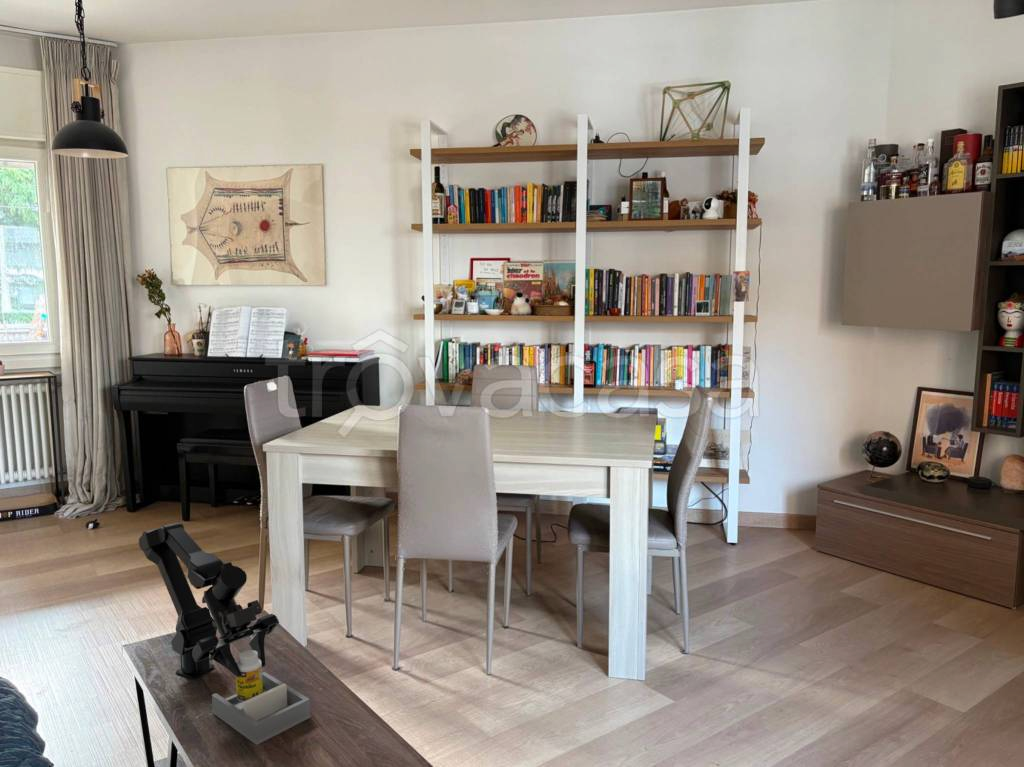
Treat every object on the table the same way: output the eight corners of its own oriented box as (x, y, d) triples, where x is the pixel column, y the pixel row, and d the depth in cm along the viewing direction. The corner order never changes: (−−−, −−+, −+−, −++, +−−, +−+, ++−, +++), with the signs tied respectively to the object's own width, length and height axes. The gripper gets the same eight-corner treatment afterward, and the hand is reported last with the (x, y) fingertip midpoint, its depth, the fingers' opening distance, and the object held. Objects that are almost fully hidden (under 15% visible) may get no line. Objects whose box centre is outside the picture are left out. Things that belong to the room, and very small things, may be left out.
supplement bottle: (233, 704, 164) (231, 660, 162) (241, 690, 169) (239, 648, 168) (259, 703, 164) (257, 659, 163) (266, 690, 170) (264, 647, 168)
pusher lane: (212, 713, 165) (211, 694, 165) (265, 689, 175) (264, 671, 174) (256, 745, 154) (255, 725, 153) (310, 717, 163) (309, 699, 163)
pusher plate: (243, 724, 159) (242, 702, 159) (284, 704, 167) (283, 683, 166) (246, 725, 159) (245, 703, 158) (287, 705, 166) (286, 684, 166)
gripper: (195, 606, 159) (224, 672, 153) (273, 580, 173) (302, 639, 168) (180, 629, 165) (207, 694, 160) (256, 602, 179) (283, 661, 174)
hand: (252, 671), depth 165 cm, fingers closed on supplement bottle, 5 cm apart
